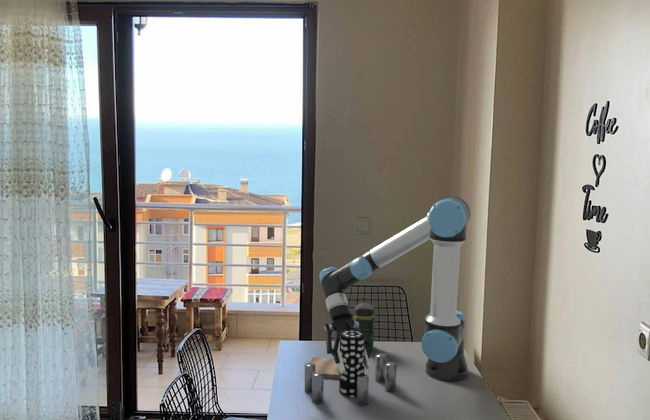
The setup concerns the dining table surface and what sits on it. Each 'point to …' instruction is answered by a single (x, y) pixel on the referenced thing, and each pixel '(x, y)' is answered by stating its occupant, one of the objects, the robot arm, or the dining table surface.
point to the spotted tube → (351, 360)
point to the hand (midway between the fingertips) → (355, 370)
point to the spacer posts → (316, 380)
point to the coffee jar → (366, 319)
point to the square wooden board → (326, 367)
